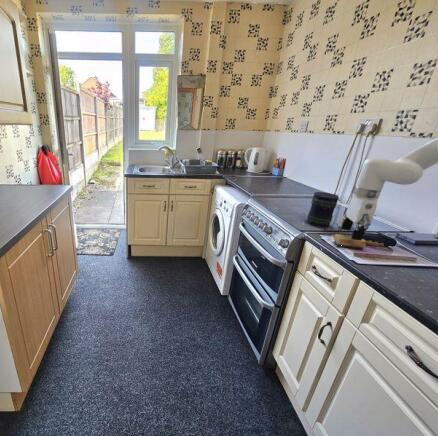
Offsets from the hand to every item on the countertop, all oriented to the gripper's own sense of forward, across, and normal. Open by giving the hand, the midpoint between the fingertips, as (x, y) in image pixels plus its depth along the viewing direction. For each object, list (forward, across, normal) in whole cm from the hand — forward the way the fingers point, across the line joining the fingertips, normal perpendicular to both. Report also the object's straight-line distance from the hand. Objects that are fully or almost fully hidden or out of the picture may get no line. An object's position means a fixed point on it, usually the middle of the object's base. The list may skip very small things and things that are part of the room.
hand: (350, 234), depth 97 cm
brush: (+5, 0, -4) cm, 6 cm away
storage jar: (+6, +24, +4) cm, 25 cm away
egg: (+5, +25, -8) cm, 27 cm away
